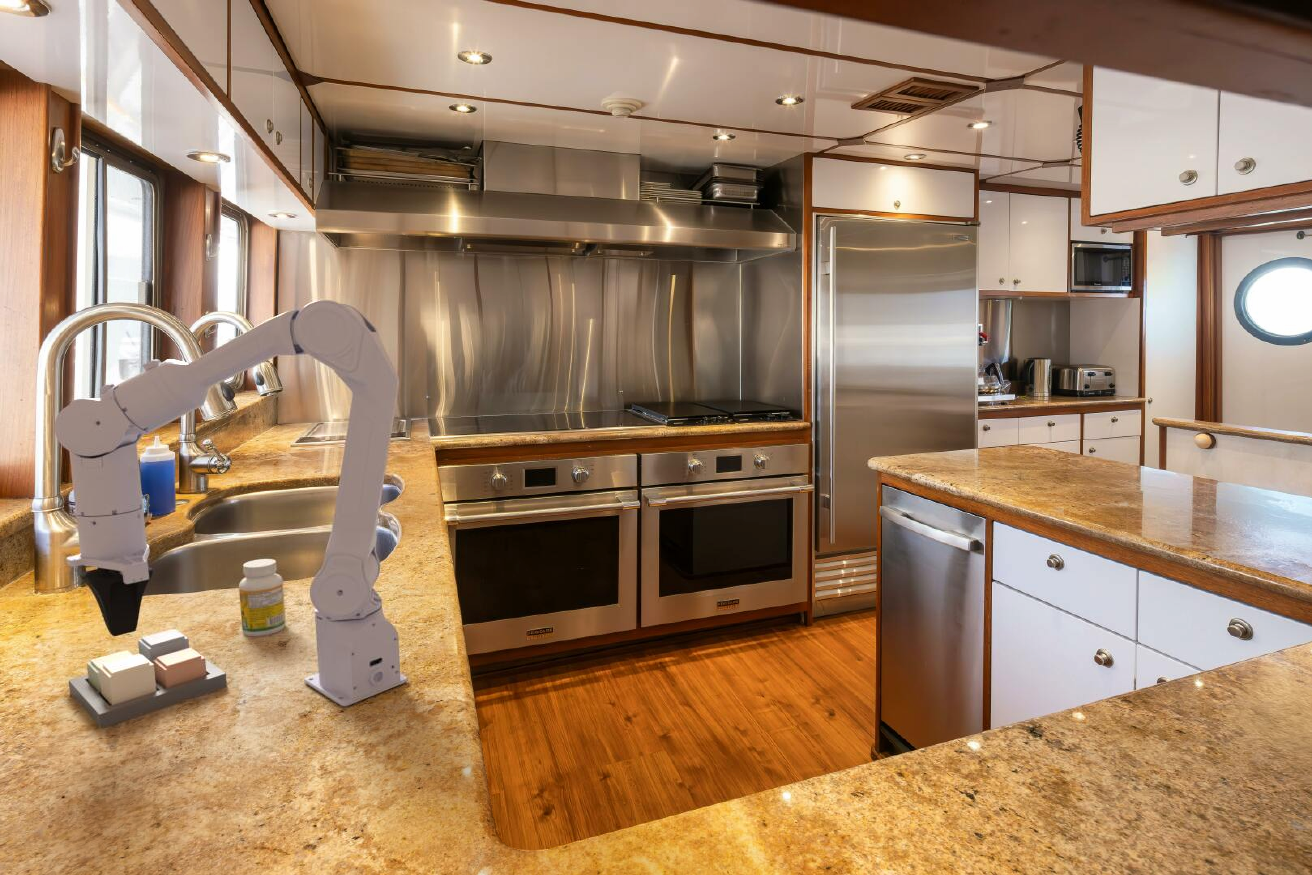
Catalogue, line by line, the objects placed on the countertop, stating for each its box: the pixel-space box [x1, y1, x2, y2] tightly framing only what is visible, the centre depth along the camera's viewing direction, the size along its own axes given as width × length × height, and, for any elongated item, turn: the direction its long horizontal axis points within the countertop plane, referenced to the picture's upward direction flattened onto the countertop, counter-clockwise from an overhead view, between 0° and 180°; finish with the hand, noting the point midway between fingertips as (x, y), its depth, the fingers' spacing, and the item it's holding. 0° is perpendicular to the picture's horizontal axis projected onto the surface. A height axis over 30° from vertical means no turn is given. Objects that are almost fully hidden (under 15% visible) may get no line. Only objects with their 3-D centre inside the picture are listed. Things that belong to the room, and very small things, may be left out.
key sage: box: [86, 649, 134, 692], centre depth 83 cm, size 4×4×4 cm
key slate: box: [137, 628, 190, 663], centre depth 86 cm, size 4×4×4 cm
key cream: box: [99, 653, 156, 706], centre depth 79 cm, size 4×4×4 cm
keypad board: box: [68, 646, 228, 730], centre depth 83 cm, size 12×12×2 cm
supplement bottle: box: [238, 558, 287, 637], centre depth 100 cm, size 5×5×10 cm
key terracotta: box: [153, 647, 207, 689], centre depth 83 cm, size 4×4×4 cm
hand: (123, 632), depth 79 cm, fingers closed
